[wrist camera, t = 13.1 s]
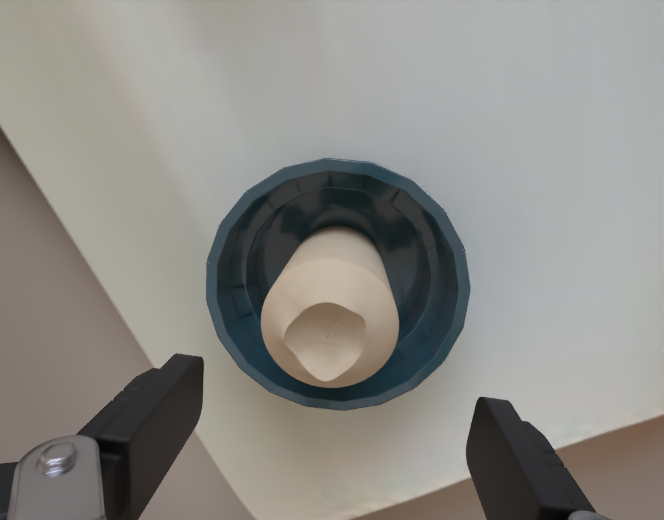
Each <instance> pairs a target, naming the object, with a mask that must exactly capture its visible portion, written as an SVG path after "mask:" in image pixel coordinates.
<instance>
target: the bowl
mask: <svg viewBox="0 0 664 520" xmlns="http://www.w3.org/2000/svg"><path fill="white" fill-rule="evenodd" d="M329 226H345V227H350V228H353V229H356V230H358V231H360V232H361V233H363V234H364V235H366V236H367V237H368V238H369V239H370V240H371V241H372V242H373V243H374V244H375V246H376V247H377V249H378V251H379V253H380V255H381V258H382V261H383V264H384V268H385V271H386V274H387V278H388V281H389V284H390V288H391V291H392V294H393V298H394V301H395V305H396V308H397V311H398V318H399V333H398V339H397V342H396V346H395V348H394V350H393V352H392V354H391V356H390V357H389V359H388V360H387V362H386V363H385V364H384V365H383V367H382V368H380V369H379V370H378V371H377V372H376V373H375V374H373V375H372V376H371V377H369V378H367V379H365V380H363V381H361V382H359V383H356V384H354V385H350V386H346V387H338V388H326V387H318V386H313V385H310V384H307V383H304V382H302V381H300V380H298V379H296V378H294V377H292V376H291V375H289V374H288V373H287V372H285V371H284V370H283V369H282V368H281V367H280V366H279V365H278V364H277V363H276V362H275V361H274V359H273V358H272V356H271V355H270V353H269V351H268V350H267V348H266V345H265V343H264V340H263V336H262V331H261V313H262V308H263V305H264V302H265V299H266V297H267V295H268V293H269V291H270V289H271V288H272V286H273V285H274V283H275V282H276V280H277V279H278V277H279V276H280V274H281V272H282V271H283V269H284V268H285V266H286V265H287V263H288V262H289V260H290V259H291V257H292V256H293V254H294V253H295V251H296V250H297V248H298V247H299V245H300V244H301V243H302V242H303V240H304V239H305V238H306V237H308V236H309V235H310V234H312V233H313V232H315V231H317V230H319V229H322V228H325V227H329ZM469 295H470V281H469V274H468V268H467V261H466V254H465V249H464V246H463V244H462V242H461V240H460V238H459V237H458V235H457V233H456V231H455V229H454V227H453V225H452V223H451V221H450V220H449V218H448V216H447V214H446V212H445V211H444V209H443V208H442V207H440V206H439V205H438V204H437V203H436V202H435V201H434V200H433V199H432V198H431V197H430V196H429V195H428V194H426V193H425V192H424V191H423V190H422V189H421V188H420V187H419V186H418V185H417V184H416V183H415V182H414V181H412V180H410V179H408V178H406V177H404V176H401V175H399V174H397V173H395V172H392V171H390V170H388V169H386V168H383V167H381V166H379V165H377V164H374V163H371V162H365V161H354V160H343V159H333V158H323V159H319V160H315V161H311V162H306V163H302V164H298V165H294V166H290V167H285V168H283V169H280V170H279V171H277V172H276V173H274V174H273V175H271V176H269V177H268V178H266V179H265V180H263V181H261V182H260V183H258V184H257V185H255V186H253V187H252V188H250V189H249V190H247V192H245V193H244V194H243V196H242V197H241V198H240V199H239V201H238V202H237V203H236V204H235V206H234V207H233V208H232V209H231V211H230V212H229V213H228V214H227V216H226V217H225V218H224V219H223V221H222V222H221V224H220V225H219V228H218V231H217V234H216V236H215V239H214V242H213V245H212V248H211V250H210V253H209V256H208V259H207V273H206V300H207V305H208V308H209V311H210V314H211V317H212V320H213V323H214V327H215V330H216V333H217V336H218V338H219V340H220V341H221V342H222V344H223V345H224V347H225V348H226V350H227V351H228V352H229V354H230V355H231V357H232V358H233V359H234V361H235V362H236V364H237V365H238V367H239V368H240V369H241V370H242V371H244V372H245V373H246V374H247V375H249V376H250V377H251V378H253V379H254V380H255V381H256V382H258V383H259V384H260V385H261V386H263V387H264V388H265V389H267V390H268V391H269V392H271V393H273V394H276V395H278V396H281V397H283V398H285V399H288V400H290V401H293V402H295V403H298V404H300V405H303V406H306V407H315V408H324V409H333V410H341V411H342V410H343V411H345V410H351V409H357V408H363V407H370V406H376V405H380V404H383V403H385V402H387V401H389V400H391V399H393V398H395V397H398V396H400V395H402V394H404V393H406V392H408V391H410V390H412V389H414V388H415V387H417V386H418V385H419V384H420V383H421V382H422V381H424V380H425V379H426V378H427V377H428V376H429V375H430V374H431V373H432V372H433V371H434V370H436V369H437V368H438V367H439V366H440V365H441V364H442V363H443V361H445V359H446V357H447V356H448V354H449V352H450V350H451V348H452V347H453V345H454V343H455V341H456V340H457V338H458V336H459V334H460V333H461V331H462V329H463V327H464V321H465V316H466V311H467V306H468V301H469Z"/></svg>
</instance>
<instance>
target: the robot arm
mask: <svg viewBox="0 0 664 520" xmlns="http://www.w3.org/2000/svg"><path fill="white" fill-rule="evenodd" d="M203 372H204V362H203V358H202V357H198V356H191V355H184V354H174V355H173V356H172V357H171V358H170V359H169V360H168V361H167V362H166V363H165V364H164V365H163V366H162V367H161V369H157V368H152V369H151V370H149V371H147V372H145V373H143V374H141V375H139V376H137V377H135V378H134V379H133V380H132V381H131V382H130V383H129V384H128V385H127V386H126V387H125V388H124V391H121V392H120V393H119V394H118V395H117V396H116V397H115V398H114V400H113V401H110V402H109V403H108V404H107V405H106V406H105V407H104V408H103V409H102V410H101V411H100V412H99V413H98V414H97V415H96V416H95V417H94V418H93V419H92V420H91V421H90V422H89V423H87V425H85V426H84V427H83V428H82V429H81V430H80V431H79V432H78V433H77V434H76V435H70V436H63V437H58V438H55V439H52V440H49V441H47V442H45V443H42V444H40V445H38V446H37V447H35V448H33V449H32V450H31V451H29V452H28V453H27V454H26V455H25V456H24V457H22V459H21V460H20V461H19V462H13V463H3V464H0V520H138V519H139V517H140V515H141V514H142V512H143V510H144V509H145V507H146V506H147V504H148V502H149V501H150V499H151V498H152V496H153V495H154V493H155V491H156V490H157V488H158V486H159V485H160V483H161V482H162V480H163V478H164V477H165V475H166V474H167V472H168V470H169V469H170V467H171V465H172V464H173V462H174V461H175V459H176V457H177V455H178V454H179V453H180V451H181V449H182V448H183V446H184V445H185V443H186V441H187V439H188V438H189V436H190V435H191V433H192V432H193V430H194V428H195V427H196V425H197V423H198V420H199V418H200V414H201V410H202V403H203ZM466 459H467V465H468V468H469V471H470V474H471V477H472V479H473V482H474V485H475V488H476V491H477V493H478V496H479V499H480V502H481V505H482V508H483V510H484V513H485V516H486V518H487V520H611V519H609V518H607V517H605V516H603V515H601V514H598V513H597V512H596V511H595V510H594V508H593V507H592V505H591V504H590V502H589V501H588V499H587V498H586V496H585V495H584V493H583V492H582V491H581V489H580V487H579V486H578V485H577V483H576V481H575V480H574V479H573V477H572V476H571V474H570V473H569V471H568V470H567V468H564V464H563V462H562V461H561V459H560V458H559V456H558V455H557V454H555V450H554V449H553V447H552V446H551V445H550V443H549V442H548V440H547V439H546V437H545V436H544V435H543V434H542V433H541V432H540V431H538V430H537V429H536V428H535V427H534V426H533V425H531V424H530V423H529V422H526V421H522V420H521V419H520V417H519V415H518V414H517V412H516V411H515V409H514V407H513V406H512V404H511V403H510V402H509V401H508V400H502V399H495V398H487V397H479V398H478V400H477V403H476V406H475V411H474V415H473V419H472V423H471V427H470V431H469V436H468V440H467V445H466Z"/></svg>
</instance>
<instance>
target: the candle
mask: <svg viewBox="0 0 664 520" xmlns="http://www.w3.org/2000/svg"><path fill="white" fill-rule="evenodd" d="M261 331H262V336H263V340H264V343H265V345H266V348H267V350H268V351H269V353H270V355H271V356H272V358H273V359H274V361H275V362H276V363H277V364H278V365H279V366H280V367H281V368H282V369H283V370H284V371H285V372H287V373H288V374H289V375H291V376H292V377H294V378H296V379H298V380H300V381H302V382H304V383H307V384H310V385H313V386H318V387H326V388H338V387H346V386H350V385H354V384H356V383H359V382H361V381H363V380H365V379H367V378H369V377H371V376H372V375H373V374H375V373H376V372H377V371H378V370H379V369H380V368H382V367H383V365H384V364H385V363H386V362H387V360H388V359H389V357H390V356H391V354H392V352H393V350H394V348H395V346H396V342H397V339H398V333H399V318H398V311H397V308H396V305H395V301H394V298H393V294H392V291H391V288H390V284H389V281H388V278H387V274H386V271H385V268H384V264H383V261H382V258H381V255H380V253H379V251H378V249H377V247H376V246H375V244H374V243H373V242H372V241H371V240H370V239H369V238H368V237H367V236H366V235H364V234H363V233H361V232H360V231H358V230H356V229H353V228H350V227H345V226H329V227H325V228H322V229H319V230H317V231H315V232H313V233H312V234H310V235H309V236H308V237H306V238H305V239H304V240H303V242H302V243H301V244H300V245H299V247H298V248H297V250H296V251H295V253H294V254H293V256H292V257H291V259H290V260H289V262H288V263H287V265H286V266H285V268H284V269H283V271H282V272H281V274H280V276H279V277H278V279H277V280H276V282H275V283H274V285H273V286H272V288H271V289H270V291H269V293H268V295H267V297H266V299H265V302H264V305H263V308H262V313H261Z"/></svg>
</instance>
